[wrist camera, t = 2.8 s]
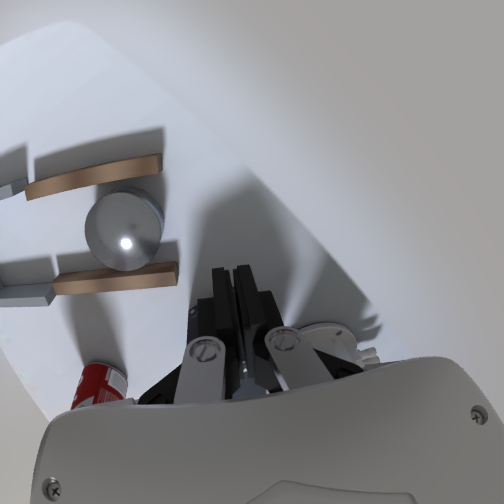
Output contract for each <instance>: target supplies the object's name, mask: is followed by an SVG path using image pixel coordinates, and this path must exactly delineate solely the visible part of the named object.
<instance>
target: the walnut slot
mask: <svg viewBox="0 0 504 504" xmlns="http://www.w3.org/2000/svg"><path fill="white" fill-rule="evenodd" d="M161 171H162V162H161V153H159V154H153V155H147V156H141V157H135V158H129V159H124V160H119V161H114V162H109V163H104V164H99V165H95V166H91V167H86V168H82V169H78V170H74V171H70V172H66V173H62V174H59V175H55V176H52V177H48V178H45V179H41V180H38V181H35V182H32V183H30V184H28V185H26V186H24V189H25V194H26V199H27V201H29V200H33V199H36V198H40V197H44V196H48V195H52V194H56V193H60V192H64V191H68V190H72V189H77V188H81V187H86V186H91V185H95V184H100V183H105V182H111V181H116V180H121V179H127V178H133V177H139V176H145V175H152V174H158V173H160V172H161ZM178 276H179V274H178V269H177V263H176V262H169V263H159V264H150V265H144V266H143V267H141V268H138V269H136V270H131V271H120V270H115V269H102V270H92V271H83V272H73V273H63V274H59V275H58V276H57V277H56V279H55V280H54V281H53V282H52V285H53V288H54V290H55V292H56V295H68V294H82V293H96V292H109V291H122V290H134V289H145V288H156V287H167V286H177V283H178Z"/></svg>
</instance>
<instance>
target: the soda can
mask: <svg viewBox="0 0 504 504" xmlns="http://www.w3.org/2000/svg"><path fill="white" fill-rule="evenodd" d="M127 387H128V382H127V379H126V377H125V376H124V375H123V374H122V373H121V372H120V371H119V370H117V369H116V368H114V367H112V366H110V365H108V364H105V363H100V362H92V363H89V364H87V365H86V366H85V367H84V369H83V372H82V375H81V378H80V381H79V384H78V387H77V390H76V393H75V396H74V400H73V403H72V406H71V410H73V409H77V408H81V407H85V406H88V405H92V404H98V403H105V402H111V401H117V400H122V399H125V397H126V392H127Z"/></svg>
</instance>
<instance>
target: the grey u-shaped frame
mask: <svg viewBox="0 0 504 504" xmlns="http://www.w3.org/2000/svg"><path fill="white" fill-rule="evenodd" d="M26 185H28V182H27V177H26V178H23V179H20V180H17V181H14V182H11V183H9V184H6V185H3V186H1V187H0V200H3V199H6V198H9V197H12V196H14V195H16V194H18V193H20V192H22V191H24V190H25V189H24V186H26ZM55 296H56V292H55V290H54V288H53V285H52V283H41V284H30V285H17V286H5V287H3V284H2V282H1V279H0V307H37V306H49V305H50V304H51V302H52V301H53V299H54V298H55Z"/></svg>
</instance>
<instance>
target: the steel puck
mask: <svg viewBox="0 0 504 504" xmlns="http://www.w3.org/2000/svg"><path fill="white" fill-rule="evenodd" d="M163 231H164V218H163V214H162V211H161V208H160V206H159V205H158V203H157V202H156V200H155V199H154V198H153V197H152V196H151V195H149V194H148V193H147V192H145V191H143V190H141V189H138V188H135V187H121V188H117V189H115V190H113V191H111V192H109V193H108V194H107V195H105V196H104V197H103V198H101V199H100V200H99V201H97V202H96V203H95V204H94V205H93V207H92V208H91V209H90V211H89V213H88V215H87V218H86V221H85V237H86V241H87V244H88V246H89V248H90V250H91V252H92V253H93V255H94V256H95V257H96V258H97V259H98V260H99V261H100V262H101V263H103V264H104V265H106V266H108V267H110V268H112V269H115V270H120V271H131V270H136V269H138V268H141V267H143V266H144V265H146V264H147V263H148V262H149V261H150V260H151V259H152V258H153V257H154V255H155V253H156V251H157V249H158V246H159V243H160V241H161V238H162V235H163Z"/></svg>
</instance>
